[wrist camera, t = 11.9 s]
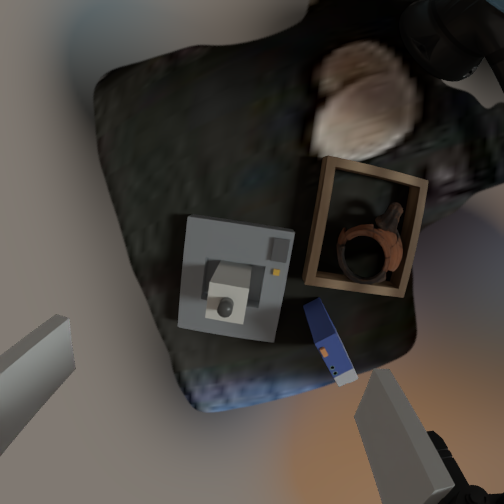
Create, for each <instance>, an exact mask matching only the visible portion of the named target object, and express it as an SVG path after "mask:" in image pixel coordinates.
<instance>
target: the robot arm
mask: <svg viewBox="0 0 504 504" xmlns="http://www.w3.org/2000/svg"><path fill="white" fill-rule="evenodd" d="M399 31H400V35H401V38H402V41H403V43H404V45H405V47H406V48H407V50H408V52H409V53H410V54H411V56H412V57H413V58H414V59H415V61H416V62H417V63H418V64H419V65H420V66H421V67H423V68H424V69H425V70H426V71H428V72H429V73H431V74H432V75H434V76H436V77H438V78H440V79H443V80H446V81H460V80H462V79H465V78H467V77H469V76H470V75H472V74H473V73H474V72H475V70H476V69H477V67H478V66H479V65H480V63H481V62H482V60H483V59H484V57H485V58H486V60H487V62H488V63H489V65H490V67H491V69H492V71H493V73H494V75H495V76H496V79H497V80H498V82H499V84H500V86H501V88H502V91H503V93H504V0H419V1H416V2H414V3H412V4H410V5H409V6H408V7H407V8H406V9H405V10H404V11H403V13H402V14H401V16H400V20H399ZM75 369H76V368H75V361H74V354H73V348H72V339H71V332H70V321H69V318H67V317H63V316H60V315H57V314H56V315H54V316H53V317H51V318H50V319H49V320H47V321H46V322H45V323H43V324H42V325H40V326H39V327H38V328H36V329H35V330H34V331H32V332H31V333H30V334H28V335H27V336H26V337H24V338H23V339H22V340H20V341H19V342H18V343H16V344H15V345H14V346H12V347H11V348H10V349H9V350H7V351H6V352H5V353H3V354H2V355H1V356H0V456H1V455H2V454H3V452H4V451H5V450H6V449H7V447H8V446H9V445H10V444H11V443H12V441H13V440H14V439H15V438H16V437H17V435H18V434H19V433H20V432H21V431H22V429H23V428H24V427H25V426H26V425H27V424H28V422H29V421H30V420H31V419H32V418H33V417H34V415H35V414H36V413H37V412H38V411H39V409H40V408H41V407H42V406H43V405H44V404H45V403H46V401H47V400H48V399H49V398H50V397H51V396H52V395H53V394H54V392H55V391H56V390H57V389H58V388H59V387H60V386H61V384H63V382H64V381H65V380H66V379H67V378H68V377H69V376H70V375H71V373H72V372H73V371H74V370H75ZM354 418H355V421H356V424H357V426H358V430H359V432H360V435H361V438H362V441H363V444H364V447H365V451H366V453H367V456H368V460H369V463H370V466H371V469H372V472H373V475H374V478H375V481H376V485H377V488H378V491H379V494H380V497H381V501H382V504H504V493H502V494H487V492H486V491H485V490H484V489H483V488H481V487H479V486H476V485H469V484H468V482H467V481H466V479H465V477H464V475H463V473H462V472H461V470H460V468H459V466H458V465H457V463H456V461H455V460H454V458H452V454H451V452H450V451H449V450H448V447H447V446H446V444H445V442H444V440H443V439H442V438H441V437H440V436H439V435H438V434H436V433H435V432H434V431H427V432H426V430H425V429H424V427H423V425H422V423H421V422H420V420H419V418H418V416H417V415H416V413H415V411H414V410H413V408H412V406H411V405H410V403H409V401H408V399H407V398H406V396H405V394H404V393H403V391H402V390H401V388H400V386H399V384H398V383H397V381H396V380H395V378H394V376H393V374H392V373H391V371H390V369H373V372H372V374H371V377H370V380H369V382H368V385H367V387H366V390H365V392H364V395H363V397H362V400H361V402H360V404H359V406H358V409H357V411H356V414H355V416H354Z"/></svg>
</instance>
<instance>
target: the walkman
mask: <svg viewBox="0 0 504 504" xmlns="http://www.w3.org/2000/svg"><path fill="white" fill-rule="evenodd" d="M303 308H304V311H305V314H306V317H307V320H308V324H309V327H310V330H311V333H312V337H313V340H314V343H315V345H316V347H317V349H318V351H319V352H320V354H321V356H322V358H323V360H324V362H325V363H326V365H327V367H328V369H329V371H330V372H331V374H332V376H333V378H334V379H335V381H336V383H337V385H338V386H339V387H340V386H342V385H344V384H346V383H351V382H353V381H355V380H356V379H358V376H357V374H356V372H355V370H354V367H353V365H352V363H351V361H350V359H349V356H348V354H347V352H346V350H345V348H344V346H343V344H342V341H341V339H340V337H339V335H338V333H337V331H336V329H335V327H334V325H333V323H332V321H331V319H330V317H329V315H328V313H327V311H326V309H325V307H324V305H323V303H322V302H321V300H320V298H317V299H315V300H313V301H311V302H309V303H307V304H305V305H303Z"/></svg>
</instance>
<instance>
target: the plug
mask: <svg viewBox="0 0 504 504" xmlns="http://www.w3.org/2000/svg"><path fill="white" fill-rule="evenodd" d="M251 271H252V265H248V264H242V263H236V262H230V261H224V260H221V261H220V263H219V265H218V267H217V269H216V271H215V273H214V274H213V276H212V278H211V280H210V283H209V290H208V298H207V306H206V314H205V318H209V319H214V320H220V321H225V322H231V323H237V324H243V322H244V316H245V311H246V305H247V299H248V293H249V287H250V279H251Z"/></svg>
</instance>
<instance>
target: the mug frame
mask: <svg viewBox="0 0 504 504" xmlns="http://www.w3.org/2000/svg"><path fill="white" fill-rule="evenodd" d="M335 169H338V170H343V171H347V172H352V173H357V174H361V175H365V176H370V177H374V178H378V179H382V180H386V181H390V182H394V183H398V184H402V185H406V186H409V193H408V199H407V205H406V210H405V216H404V221H403V226H402V231H401V236H400V238H401V242H402V248H403V255H402V259H401V262H400V264H399V266H398V268H397V269H396V270H395V271H392V275H391V279H390V281H382V282H378V283H373V284H359V283H356V282H354V281H352V280H350V279H349V278H348V277H347V276H346V275H342V274H335V273H328V272H322V271H317V267H318V263H319V258H320V253H321V247H322V242H323V237H324V232H325V226H326V221H327V215H328V210H329V204H330V198H331V192H332V186H333V180H334V173H335ZM427 187H428V181H427V180H424V179H421V178H417V177H414V176H410V175H407V174H403V173H399V172H396V171H392V170H388V169H384V168H380V167H376V166H372V165H368V164H364V163H360V162H355V161H351V160H346V159H342V158H337V157H332V156H326V157H323V159H322V165H321V172H320V178H319V184H318V190H317V197H316V203H315V208H314V214H313V220H312V226H311V231H310V237H309V242H308V247H307V253H306V258H305V263H304V268H303V273H302V279H303V281H304V283H305V285H312V286H319V287H326V288H334V289H341V290H348V291H356V292H363V293H371V294H379V295H386V296H394V297H402V298H403V297H404V294H405V290H406V287H407V283H408V279H409V275H410V271H411V267H412V263H413V259H414V255H415V250H416V246H417V242H418V237H419V232H420V227H421V222H422V217H423V212H424V206H425V200H426V194H427Z"/></svg>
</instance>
